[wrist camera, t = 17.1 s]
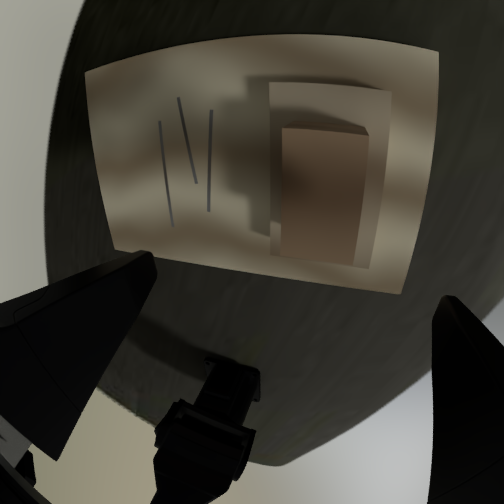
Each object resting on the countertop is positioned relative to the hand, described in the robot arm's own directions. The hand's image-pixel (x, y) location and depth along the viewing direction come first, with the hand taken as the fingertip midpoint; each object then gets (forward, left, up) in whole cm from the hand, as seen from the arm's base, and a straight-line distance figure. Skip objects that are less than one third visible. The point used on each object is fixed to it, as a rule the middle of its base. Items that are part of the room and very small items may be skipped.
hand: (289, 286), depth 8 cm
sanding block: (+1, 0, -10) cm, 10 cm away
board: (+1, +6, -12) cm, 13 cm away
